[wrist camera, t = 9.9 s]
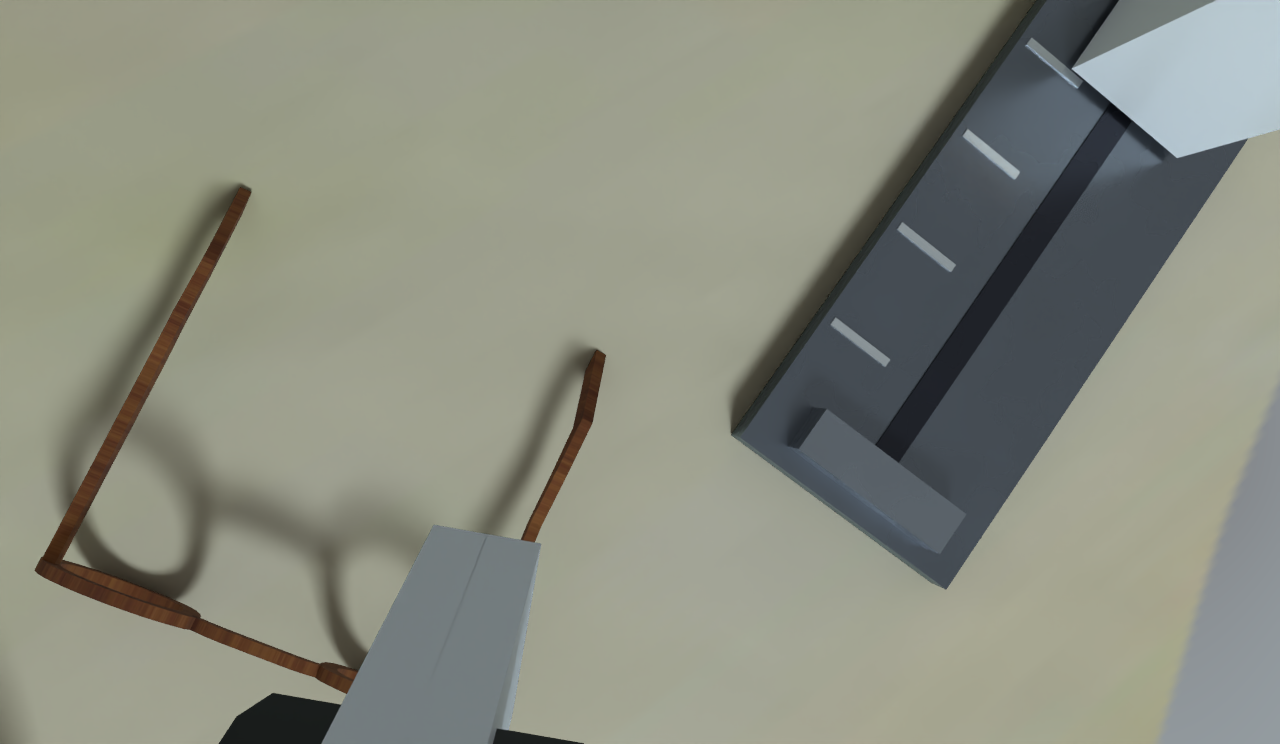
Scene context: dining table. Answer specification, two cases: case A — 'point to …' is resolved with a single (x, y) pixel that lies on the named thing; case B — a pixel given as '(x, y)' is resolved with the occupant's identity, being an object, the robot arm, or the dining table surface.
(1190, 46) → the fader knob
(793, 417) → the board
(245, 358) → the dining table surface
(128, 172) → the dining table surface
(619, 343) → the dining table surface
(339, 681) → the glasses
